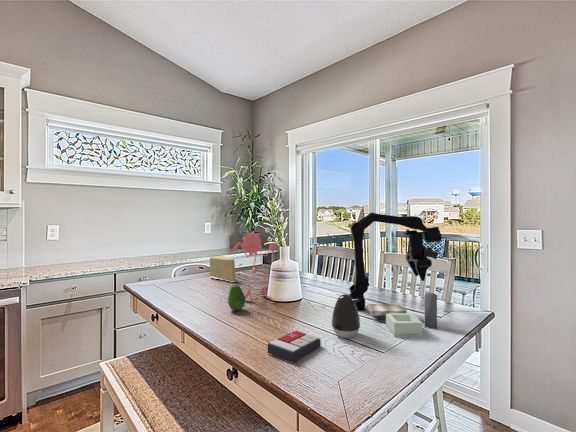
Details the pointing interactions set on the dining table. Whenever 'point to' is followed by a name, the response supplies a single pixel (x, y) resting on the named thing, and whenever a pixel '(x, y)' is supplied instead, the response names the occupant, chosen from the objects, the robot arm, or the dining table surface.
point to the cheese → (222, 267)
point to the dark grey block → (430, 310)
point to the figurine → (251, 246)
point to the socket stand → (403, 325)
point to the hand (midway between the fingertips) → (419, 278)
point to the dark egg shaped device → (346, 317)
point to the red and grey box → (293, 346)
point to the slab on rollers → (384, 310)
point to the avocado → (236, 298)
